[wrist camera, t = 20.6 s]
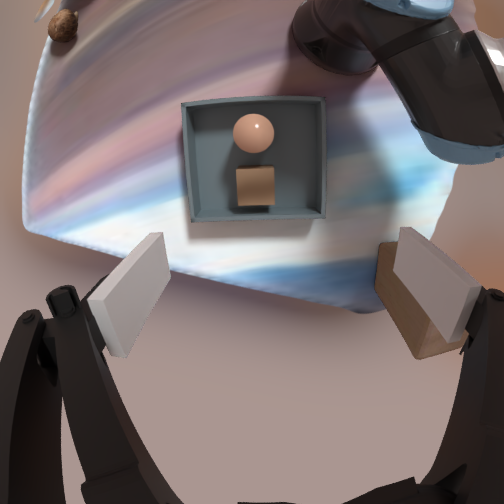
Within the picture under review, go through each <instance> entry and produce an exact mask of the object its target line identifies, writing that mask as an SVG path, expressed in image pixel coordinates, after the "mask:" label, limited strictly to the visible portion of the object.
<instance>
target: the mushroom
mask: <svg viewBox="0 0 504 504" xmlns="http://www.w3.org/2000/svg"><path fill="white" fill-rule="evenodd" d="M77 21H78V12H77V11H76V12H75V13H73V12H72V11H71V10H69V9H63V10H61V11H59V12H58V13H57V14H56V15H55V16H54V17H53V18H52V20H51V21H50V23H49V26H48V34H49V36H50V37H51V39H53V40H54V41H57V42H67V41H69V40H70V39H71V38H72V37H74V35H75V34H76V32H77V27H78V23H77Z"/></svg>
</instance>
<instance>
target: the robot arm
mask: <svg viewBox="0 0 504 504" xmlns="http://www.w3.org/2000/svg"><path fill="white" fill-rule="evenodd" d="M453 6H454V0H306V1H304V2H303V3H302V4H301V5H300V6H299V8H298V9H297V11H296V13H295V16H294V20H293V26H292V29H293V35H294V39H295V41H296V43H297V45H298V47H299V48H300V50H301V51H302V52H303V53H304V54H305V56H306V57H307V58H309V59H310V60H311V61H312V62H314V63H315V64H316V65H318V66H320V67H322V68H323V69H326V70H328V71H331V72H334V73H337V74H343V75H357V74H362V73H365V72H367V71H369V70H371V69H373V68H375V67H376V66H378V65H379V66H380V67H381V69H382V70H383V72H384V73H385V75H386V77H387V78H388V80H389V81H390V83H391V84H392V86H393V88H394V89H395V91H396V93H397V94H398V96H399V98H400V100H401V101H402V103H403V105H404V107H405V109H406V111H407V112H408V114H409V116H410V118H411V123H412V125H413V126H414V127H415V129H416V130H418V132H419V134H420V136H421V138H422V140H423V142H424V144H425V145H426V147H427V149H428V150H429V151H430V152H431V153H432V154H434V155H435V156H437V157H438V158H440V159H442V160H444V161H447V162H450V163H455V164H465V165H475V164H484V163H489V162H492V161H494V160H495V158H502V157H503V156H504V38H500V39H494V38H492V37H490V36H488V35H486V34H484V33H482V32H480V31H478V30H473V31H470V32H467V33H463V32H462V31H461V30H460V28H459V27H458V25H457V23H456V22H455V21H454V19H453V18H452V16H451V15H450V12H451V11H452V8H453ZM393 271H394V273H395V274H396V275H397V276H398V277H399V279H400V280H401V281H402V282H403V284H404V285H405V286H406V287H407V289H408V290H409V291H410V292H411V294H412V295H413V296H414V298H415V299H416V300H417V302H418V303H419V304H420V306H421V307H422V308H423V310H424V311H425V312H426V314H427V315H428V316H429V318H430V319H431V320H432V322H433V323H434V325H435V326H436V327H437V329H438V330H439V332H440V333H441V335H442V336H443V337H444V339H445V340H446V342H447V343H452V342H456V341H459V340H460V339H461V337H462V335H463V332H464V330H465V329H466V331H467V332H468V333H469V335H468V337H467V339H466V341H465V343H464V345H463V347H462V349H461V351H460V353H459V354H460V355H461V354H462V352H464V357H463V362H462V368H461V374H460V379H459V383H458V388H457V392H456V396H455V400H454V404H453V408H452V412H451V416H450V419H449V422H448V425H447V428H446V431H445V435H444V437H443V440H442V443H441V446H440V449H439V451H438V454H437V456H436V459H435V461H434V464H433V466H432V468H431V470H430V471H429V473H428V474H427V475H426V476H425V478H424V479H423V480H422V482H421V483H420V484H416V482H415V479H414V477H411V478H408V479H405V480H402V481H399V482H396V483H392V484H389V485H386V486H382V487H378V488H376V489H374V490H372V491H369V492H367V493H365V494H363V495H361V496H359V497H357V498H354V499H352V500H350V501H348V502H345V503H343V504H504V293H503V292H502V291H500V290H497V289H488V290H486V289H485V288H484V287H483V286H482V285H481V284H480V283H479V282H477V281H476V280H475V279H474V278H473V277H472V276H471V275H470V274H469V273H467V272H466V271H465V270H464V269H463V268H462V267H461V266H459V265H458V264H457V263H456V262H455V261H454V260H452V259H451V258H450V257H449V256H448V255H446V254H445V253H444V252H443V251H441V250H440V249H439V248H438V247H437V246H435V245H434V244H433V243H431V242H430V241H429V240H428V239H426V238H425V237H424V236H422V235H421V234H420V233H418V232H417V231H416V230H414V229H413V228H412V227H400V233H399V240H398V246H397V252H396V258H395V263H394V268H393ZM170 278H171V275H170V270H169V265H168V259H167V254H166V248H165V242H164V236H163V232H158V233H150V234H149V235H148V236H147V237H146V238H145V239H144V240H142V241H141V242H140V243H139V244H138V245H137V246H136V247H135V248H134V249H133V250H132V251H131V253H130V254H129V255H128V256H127V257H126V258H125V259H124V260H123V261H122V262H121V263H120V264H119V265H118V266H117V267H116V268H115V269H114V270H113V271H112V272H111V273H110V274H108V275H106V276H105V277H103V278H102V279H100V280H99V282H98V283H97V284H96V285H95V286H94V287H93V288H92V289H91V291H89V292H88V293H87V295H86V296H85V297H84V298H83V299H82V300H81V301H80V300H79V297H78V295H77V292H76V289H75V287H74V286H72V285H65V286H60V287H58V288H56V289H54V290H53V291H51V292H50V293H49V294H48V295H47V297H46V301H47V304H48V306H49V308H50V311H51V313H52V315H53V317H54V318H51V319H43V317H42V314H41V312H40V311H39V310H36V309H33V310H28V311H26V312H24V313H23V314H22V315H21V316H20V317H19V318H18V320H17V322H16V324H15V326H14V328H13V331H12V333H11V336H10V338H9V340H8V343H7V345H6V348H5V351H4V353H3V356H2V359H1V362H0V504H66V501H65V494H64V485H63V476H62V460H61V410H62V396H63V401H64V406H65V410H66V415H67V419H68V423H69V427H70V431H71V434H72V438H73V441H74V445H75V448H76V451H77V454H78V457H79V460H80V463H81V466H82V469H83V471H84V474H85V478H86V481H85V482H84V483H83V484H81V492H82V495H83V498H84V501H85V503H86V504H184V503H182V501H181V500H180V499H179V498H178V497H177V496H176V494H175V493H174V492H173V490H172V489H171V488H170V486H169V485H168V483H167V482H166V480H165V479H164V477H163V476H162V474H161V473H160V471H159V469H158V468H157V466H156V465H155V463H154V461H153V459H152V458H151V456H150V454H149V453H148V451H147V449H146V447H145V445H144V444H143V442H142V440H141V438H140V436H139V435H138V433H137V431H136V429H135V427H134V425H133V423H132V421H131V419H130V417H129V415H128V412H127V410H126V408H125V406H124V404H123V402H122V399H121V397H120V395H119V393H118V390H117V388H116V385H115V383H114V380H113V378H112V376H111V373H110V370H109V367H108V365H107V362H106V359H105V357H104V355H103V353H102V351H103V349H104V347H105V346H107V349H108V351H109V353H110V355H111V356H116V357H123V358H127V356H128V354H129V352H130V350H131V348H132V347H133V345H134V343H135V341H136V338H137V337H138V335H139V333H140V331H141V330H142V328H143V326H144V324H145V322H146V320H147V318H148V316H149V315H150V313H151V311H152V309H153V308H154V306H155V304H156V302H157V300H158V299H159V297H160V295H161V293H162V292H163V290H164V288H165V286H166V285H167V283H168V281H169V279H170ZM238 504H294V503H287V502H275V503H249V502H238Z"/></svg>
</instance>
